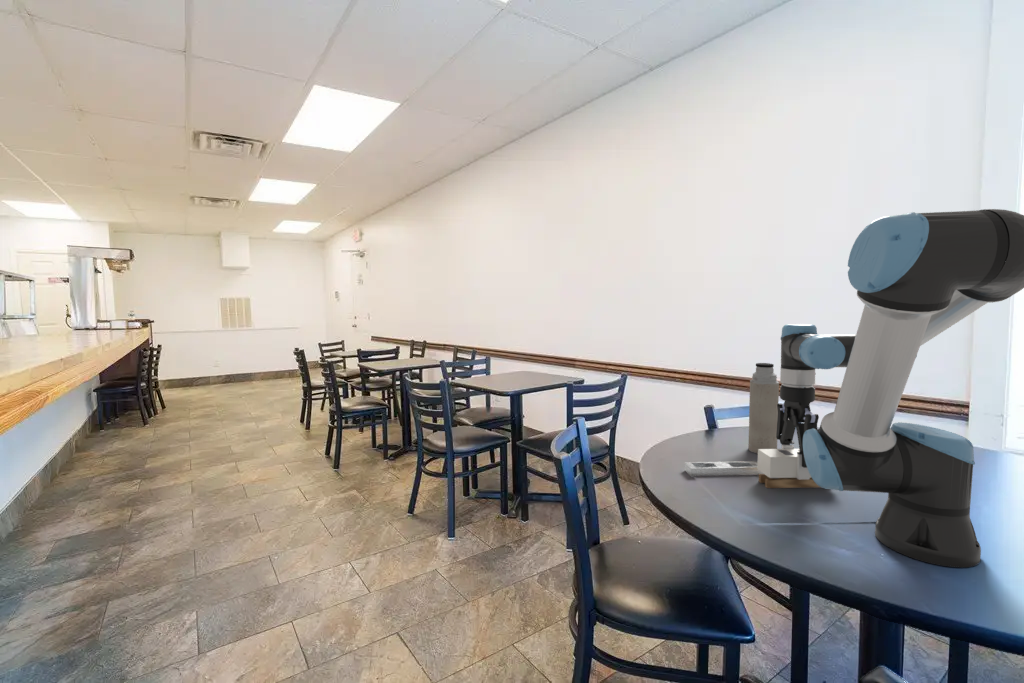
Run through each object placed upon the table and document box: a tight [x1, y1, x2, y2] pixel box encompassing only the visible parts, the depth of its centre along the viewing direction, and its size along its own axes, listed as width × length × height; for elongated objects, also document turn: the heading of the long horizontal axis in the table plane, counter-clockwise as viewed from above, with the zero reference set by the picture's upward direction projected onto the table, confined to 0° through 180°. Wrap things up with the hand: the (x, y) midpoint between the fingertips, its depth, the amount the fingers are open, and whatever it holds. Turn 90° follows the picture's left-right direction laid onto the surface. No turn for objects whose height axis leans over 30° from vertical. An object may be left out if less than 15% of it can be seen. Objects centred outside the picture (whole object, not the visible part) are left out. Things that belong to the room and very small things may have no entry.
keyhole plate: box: [684, 460, 764, 478], centre depth 127 cm, size 5×20×2 cm, turn 89°
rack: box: [758, 474, 821, 489], centre depth 117 cm, size 16×4×2 cm, turn 89°
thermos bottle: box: [747, 362, 780, 455], centre depth 143 cm, size 8×8×28 cm
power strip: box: [757, 448, 812, 479], centre depth 117 cm, size 16×6×8 cm, turn 89°
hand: (794, 473), depth 117 cm, fingers closed on power strip, 6 cm apart
